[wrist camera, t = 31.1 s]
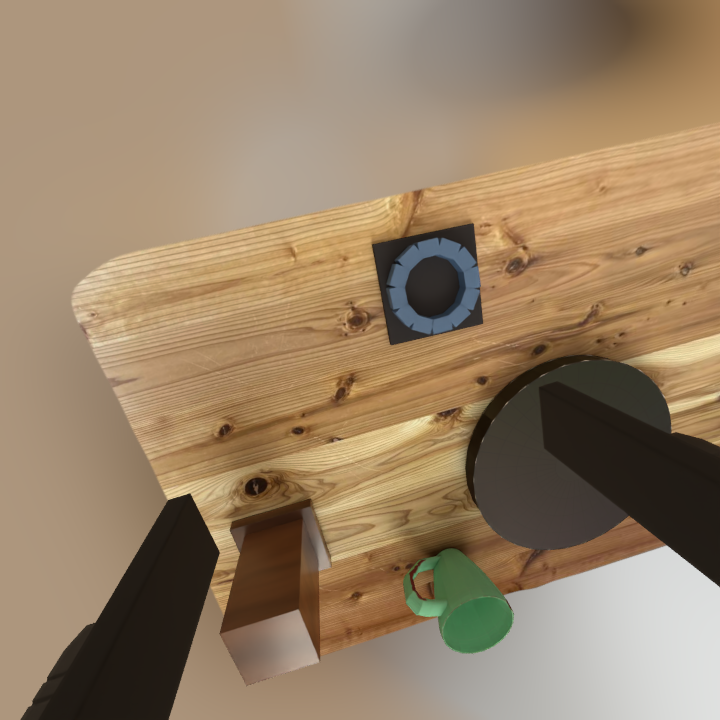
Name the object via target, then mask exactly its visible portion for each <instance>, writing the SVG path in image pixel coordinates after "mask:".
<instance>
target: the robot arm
mask: <svg viewBox="0 0 720 720" xmlns="http://www.w3.org/2000/svg"><path fill="white" fill-rule="evenodd" d="M539 397H540V408H541V419H542V430H543V441H544V449H545V450H547V451H548V452H549V453H550V454H552V455H553V456H554V457H555V458H557V459H558V460H559V461H560V462H562V463H563V464H564V465H566V466H567V467H568V468H569V469H571V470H572V471H573V472H574V473H576V474H577V475H578V476H580V477H581V478H582V479H583V480H585V481H586V482H587V483H588V484H590V485H591V486H592V487H594V488H595V489H596V490H597V491H599V492H600V493H601V494H602V495H604V496H605V497H606V498H607V499H609V500H610V501H611V502H613V503H614V504H615V505H616V506H618V507H619V508H620V509H621V510H623V511H624V512H625V513H627V514H628V515H629V516H630V517H632V518H633V519H634V520H635V521H637V522H638V523H639V524H641V525H642V526H643V527H644V528H646V529H647V530H648V531H649V532H651V533H652V534H653V535H654V536H656V537H657V538H658V539H660V540H661V541H662V542H663V543H665V544H666V545H667V546H669V547H670V548H671V549H672V550H674V551H675V552H676V553H678V554H679V555H680V556H681V557H682V558H684V559H685V560H686V561H688V562H689V563H690V564H691V565H693V566H694V567H695V568H697V569H698V570H699V571H700V572H701V573H703V574H704V575H705V576H707V577H708V578H709V579H710V580H712V581H713V582H715V583H716V584H717V585H718V586H719V587H720V447H719V446H716V445H714V444H712V443H710V442H708V441H705V440H703V439H700V438H696V437H692V436H688V435H684V434H681V433H677V432H675V433H672V434H668V433H666V432H664V431H662V430H660V429H658V428H655V427H653V426H651V425H649V424H647V423H645V422H643V421H641V420H639V419H636V418H634V417H632V416H630V415H628V414H626V413H624V412H622V411H620V410H617V409H615V408H613V407H611V406H609V405H607V404H605V403H603V402H601V401H598V400H596V399H594V398H592V397H590V396H588V395H586V394H584V393H582V392H579V391H577V390H575V389H573V388H571V387H569V386H567V385H565V384H563V383H560V382H558V381H556V382H553V383H549V384H546V385H543V386H540V387H539ZM219 553H220V552H219V550H218V548H217V546H216V544H215V542H214V540H213V538H212V536H211V534H210V532H209V530H208V528H207V526H206V524H205V522H204V520H203V518H202V516H201V514H200V512H199V510H198V508H197V506H196V504H195V502H194V500H193V498H192V496H191V494H187V495H183V496H180V497H177V498H173V499H170V500H168V501H167V503H166V505H165V506H164V508H163V510H162V511H161V513H160V515H159V517H158V518H157V520H156V522H155V524H154V525H153V527H152V529H151V530H150V532H149V533H148V535H147V537H146V539H145V540H144V542H143V544H142V545H141V547H140V549H139V551H138V552H137V554H136V555H135V557H134V559H133V560H132V562H131V564H130V566H129V567H128V569H127V571H126V573H125V574H124V576H123V577H122V579H121V581H120V582H119V584H118V586H117V588H116V589H115V591H114V593H113V595H112V596H111V598H110V599H109V601H108V603H107V604H106V606H105V608H104V610H103V611H102V613H101V615H100V616H99V618H98V620H97V621H96V623H93V624H90V625H87V626H86V627H85V628H84V629H83V630H82V631H81V632H80V633H79V634H78V636H77V637H76V638H75V639H74V640H73V641H72V642H71V643H70V645H69V646H68V647H67V648H66V649H65V650H64V652H63V653H62V655H61V656H60V658H59V660H58V661H57V663H56V664H55V666H54V667H53V669H52V671H51V672H50V674H49V676H48V677H47V682H46V683H44V684H43V685H42V686H41V688H40V690H39V691H38V693H37V694H36V696H35V698H34V699H33V704H32V706H30V707H28V709H27V710H26V712H25V713H24V715H23V717H22V718H21V720H169V716H170V713H171V710H172V707H173V703H174V700H175V697H176V693H177V690H178V687H179V684H180V680H181V677H182V674H183V671H184V667H185V664H186V660H187V658H188V654H189V651H190V647H191V644H192V641H193V638H194V635H195V631H196V628H197V625H198V622H199V618H200V615H201V612H202V609H203V605H204V601H205V599H206V596H207V592H208V589H209V586H210V583H211V579H212V576H213V573H214V570H215V566H216V563H217V560H218V557H219Z"/></svg>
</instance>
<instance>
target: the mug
mask: <svg viewBox="0 0 720 720" xmlns="http://www.w3.org/2000/svg"><path fill="white" fill-rule="evenodd" d="M431 569H434V592H435V600H430V599H426V598H422V597H421V596H420V595H419V594H418V592H417V591H416V590H415V585H414V581H413V580H414V578H415V577H416V575H417V574H418V572H422V571H427V570H431ZM403 585H404V592H405V598H406V604H407V605H408V606H409V607H410V608H411V610H412V611H413V612H414V613H415V614H416V615H420V616H426V617H431V616H438V621H439V628H440V633H441V635H442V638H443V640H444V642H445V644H446V645H447V646H448V647H449V648H450V649H452V650H453V651H456V652H460V653H477V652H482V651H485V650H487V649H489V648H491V647H493V646H495V645H496V644H498V643H499V642H500V641H502V640H503V639H504V637H505V636H506V635H507V634H508V633H509V631H510V629H511V627H512V624H513V620H514V613H513V611H512V609H511V607H510V605H509V603H508V601H507V600H506V599H505V597H504V596H503V594H502V593H501V592H500V591H499V590H498V588H497V587H496V586H495V585H494V584H493V582H492V581H491V580H490V579H489V578H488V577H487V576H486V574H485V573H484V572H483V571H482V570H481V569H480V568H479V567H478V566H477V565H476V564H475V563H474V562H472V561H471V560H470V559H469V558H468V557H467V556H465V555H464V554H463V553H462V552H461V551H459V550H457V549H455V548H449V549H445V550H443V551H441V552H440V553H439V554H438V555H437V556H434V557H429V558H424V559H420V560H418V562H417V563H416V564H415V565H414V566H413V567H412V568H411V570H410V571H409V572H408V573H407V574H406V575H405V577H404V581H403Z"/></svg>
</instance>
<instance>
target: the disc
mask: <svg viewBox="0 0 720 720" xmlns="http://www.w3.org/2000/svg"><path fill="white" fill-rule="evenodd" d="M556 381H558V382H560V383H563V384H565V385H567V386H569V387H571V388H573V389H575V390H577V391H579V392H582V393H584V394H586V395H588V396H590V397H592V398H594V399H596V400H598V401H601V402H603V403H605V404H607V405H609V406H611V407H613V408H615V409H617V410H620V411H622V412H624V413H626V414H628V415H630V416H632V417H634V418H636V419H639V420H641V421H643V422H645V423H647V424H649V425H651V426H653V427H655V428H658V429H660V430H662V431H664V432H666V433H668V434H671V429H672V428H671V420H670V411H669V409H668V406H667V403H666V400H665V398H664V395H663V394H662V392H661V391H660V389H659V388H658V387H657V385H656V384H655V382H654V381H653V380H651V379H650V378H649V377H648V376H647V375H645V374H644V373H643V372H642V371H640V370H638V369H636V368H634V367H632V366H629V365H627V364H625V363H620V362H616V361H613V360H610V359H608V358H603V357H598V356H593V355H570V356H566V357H562V358H557V359H553V360H550V361H547V362H545V363H543V364H540V365H538V366H536V367H533V368H531V369H530V370H528V371H527V372H525V373H523V374H522V375H520V376H519V377H517V378H516V379H514V380H513V381H512V382H511V383H510V384H508V385H507V386H506V387H505V388H504V389H503V390H502V391H501V392H500V393H499V394H498V395H497V396H496V397H495V398H494V399H493V401H492V402H491V403H490V405H489V406H488V407H487V409H486V410H485V411H484V412H483V414H482V416H481V418H480V420H479V422H478V424H477V426H476V427H475V429H474V432H473V435H472V438H471V441H470V444H469V447H468V452H467V461H466V475H467V484H468V488H469V490H470V493H471V496H472V499H473V501H474V502H475V504H476V505H477V507H478V508H479V510H480V512H481V514H482V516H483V517H484V519H485V520H486V522H487V523H488V525H489V526H490V527H491V528H492V529H493V530H494V531H495V532H496V533H497V534H499V535H500V536H501V537H502V538H504V539H506V540H508V541H510V542H511V543H513V544H515V545H518V546H522V547H526V548H530V549H538V550H555V549H563V548H569V547H572V546H576V545H579V544H583V543H585V542H588V541H590V540H592V539H594V538H596V537H599V536H601V535H603V534H604V533H606V532H607V531H609V530H610V529H612V528H614V527H615V526H617V525H618V524H619V523H621V522H622V521H623V520H624V519H625V518H627V517H628V516H629V515H628V514H627V513H625V512H624V511H623V510H621V509H620V508H619V507H618V506H616V505H615V504H614V503H613V502H611V501H610V500H609V499H607V498H606V497H605V496H604V495H602V494H601V493H600V492H599V491H597V490H596V489H595V488H594V487H592V486H591V485H590V484H588V483H587V482H586V481H585V480H583V479H582V478H581V477H580V476H578V475H577V474H576V473H574V472H573V471H572V470H571V469H569V468H568V467H567V466H566V465H564V464H563V463H562V462H560V461H559V460H558V459H557V458H555V457H554V456H553V455H552V454H550V453H549V452H548V451H547V450H545V449H544V441H543V430H542V419H541V408H540V397H539V387H540V386H543V385H546V384H549V383H553V382H556Z"/></svg>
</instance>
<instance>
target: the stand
mask: <svg viewBox="0 0 720 720" xmlns="http://www.w3.org/2000/svg"><path fill="white" fill-rule="evenodd" d="M230 532H231V534H232V536H233V539H234V541H235V543H236V545H237V548H238V550H239V552H240V556H239V560H238V564H237V568H236V571H235V575H234V579H233V583H232V587H231V591H230V595H229V599H228V603H227V607H226V611H225V615H224V618H223V622H222V627H221V631H220V636H221V638H222V640H223V642H224V643H225V645H226V647H227V649H228V651H229V653H230V655H231V657H232V659H233V661H234V663H235V664H236V666H237V668H238V670H239V672H240V674H241V676H242V678H243V680H244V682H245V684H246V685H247V686H248V685H251V684H254V683H256V682H260V681H263V680H266V679H269V678H272V677H275V676H278V675H282V674H284V673H288V672H291V671H294V670H297V669H300V668H303V667H306V666H309V665H312V664H315V663H318V662H320V620H319V571H321V570H324V569H327V568H330V567H331V557H330V554H329V551H328V548H327V545H326V543H325V540H324V537H323V534H322V531H321V528H320V525H319V522H318V519H317V516H316V513H315V511H314V508H313V505H312V502H311V499H309V500H305V501H302V502H299V503H295V504H292V505H288V506H285V507H282V508H278V509H275V510H271V511H268V512H265V513H261V514H258V515H254V516H251V517H248V518H244V519H241V520H237V521H234V522H232V524H231V528H230Z"/></svg>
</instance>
